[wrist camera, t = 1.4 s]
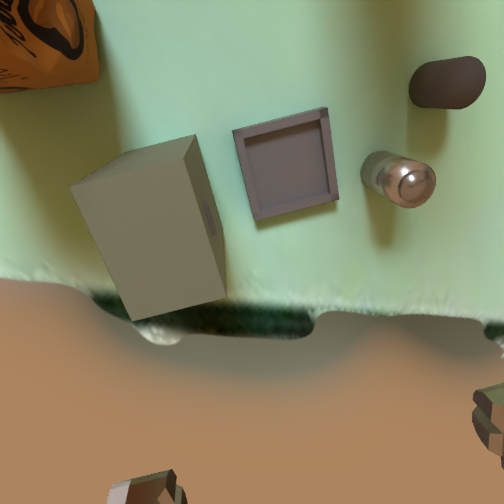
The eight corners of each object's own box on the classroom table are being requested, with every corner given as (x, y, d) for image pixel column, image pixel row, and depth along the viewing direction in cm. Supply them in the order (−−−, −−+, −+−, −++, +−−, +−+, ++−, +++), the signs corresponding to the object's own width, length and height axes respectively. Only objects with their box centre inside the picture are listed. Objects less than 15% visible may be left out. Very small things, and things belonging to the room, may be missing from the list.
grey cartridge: (396, 146, 35) (440, 158, 29) (398, 183, 37) (440, 203, 30) (358, 156, 36) (393, 170, 29) (362, 193, 37) (395, 215, 30)
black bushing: (449, 56, 32) (487, 50, 28) (448, 101, 34) (484, 102, 30) (408, 67, 33) (439, 63, 28) (409, 112, 34) (439, 114, 30)
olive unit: (198, 133, 33) (188, 156, 20) (225, 228, 37) (230, 296, 25) (119, 153, 33) (60, 189, 20) (155, 245, 37) (125, 323, 25)
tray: (322, 107, 33) (327, 107, 32) (334, 195, 37) (339, 199, 36) (232, 130, 33) (232, 131, 32) (253, 216, 37) (254, 221, 36)
